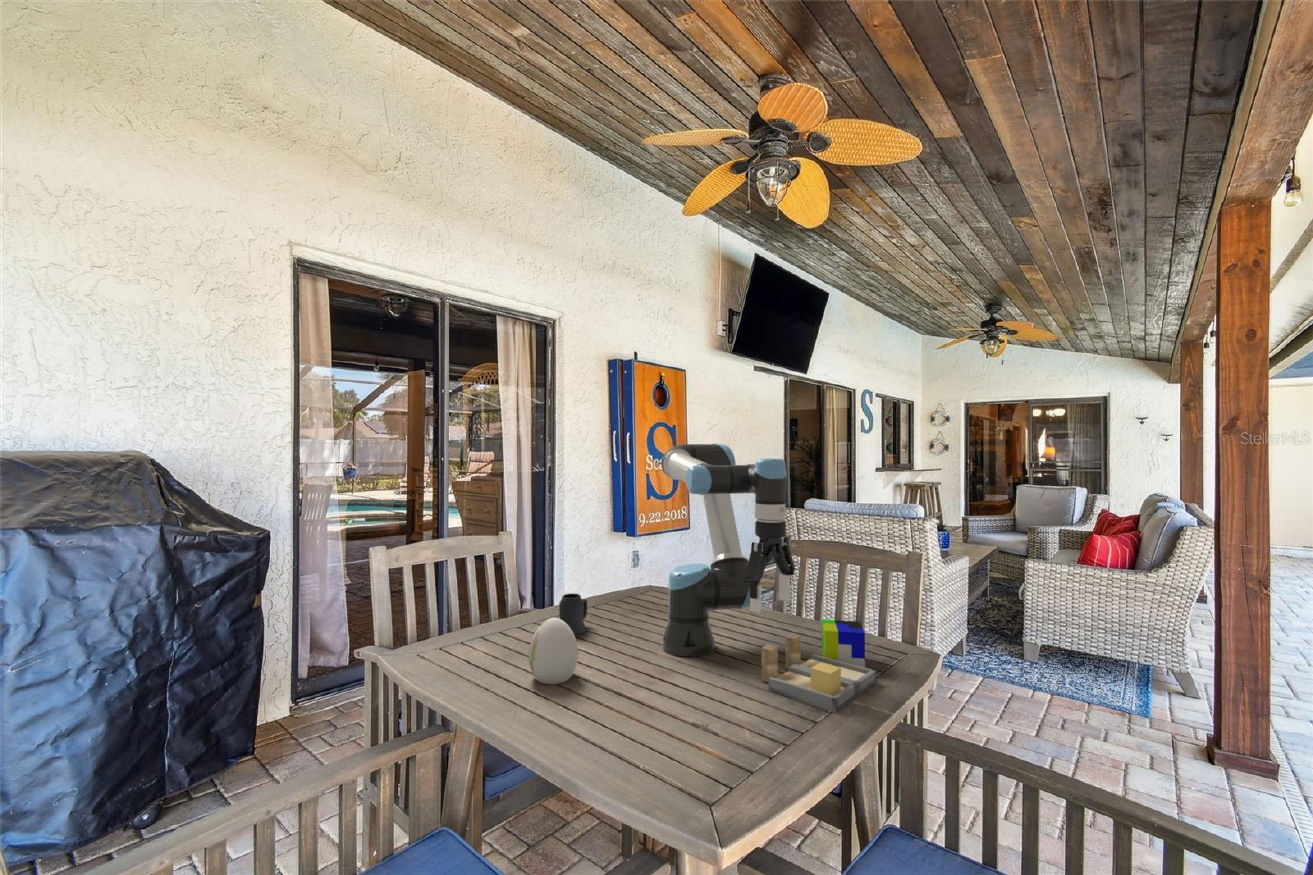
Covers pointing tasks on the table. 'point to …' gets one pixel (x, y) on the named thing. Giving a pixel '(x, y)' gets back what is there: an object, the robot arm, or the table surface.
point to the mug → (573, 612)
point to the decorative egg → (553, 652)
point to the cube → (826, 678)
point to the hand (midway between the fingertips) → (770, 605)
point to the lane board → (851, 680)
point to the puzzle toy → (843, 641)
